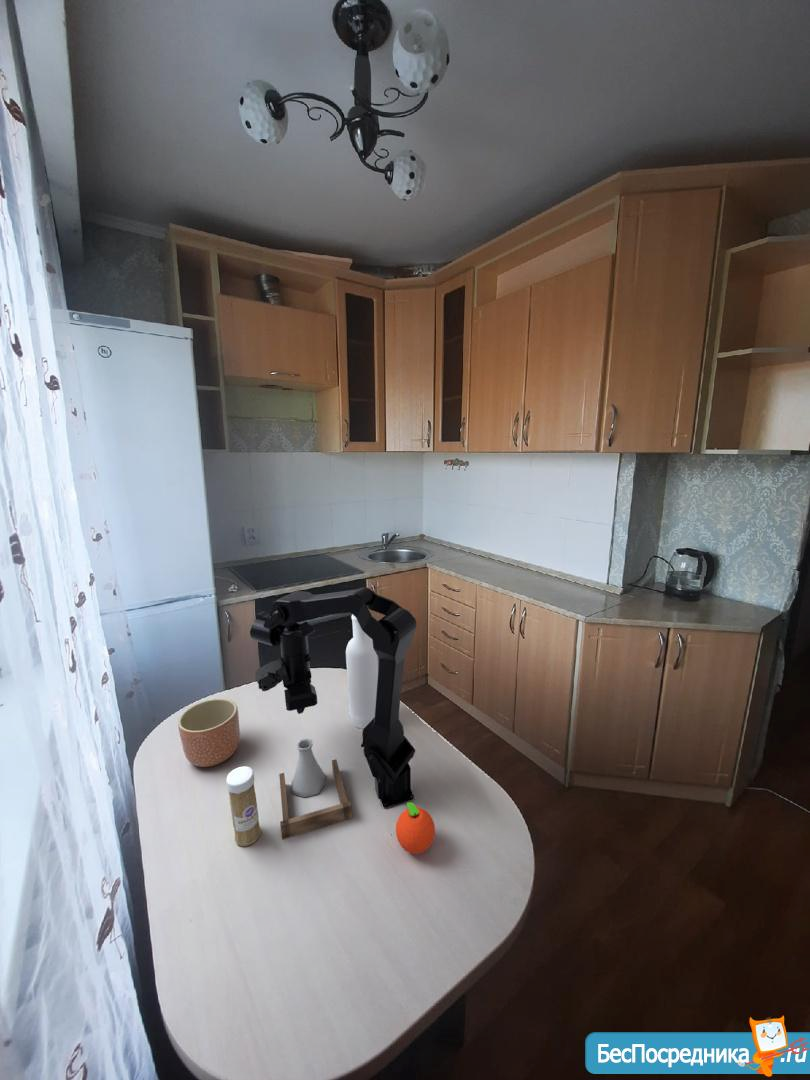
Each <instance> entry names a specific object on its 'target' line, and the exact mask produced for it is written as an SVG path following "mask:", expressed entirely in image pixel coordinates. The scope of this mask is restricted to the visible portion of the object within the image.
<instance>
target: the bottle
mask: <svg viewBox="0 0 810 1080" xmlns="http://www.w3.org/2000/svg"><path fill="white" fill-rule="evenodd" d="M350 618H351V621H352V622H351V623H352V637H351V639H350V640H348V643H347V645H346V649H345V662H346V674H347V675H346V676H347V677H346V678H347V692H348V704H349V705H348V706H349V707H348V708H349V709H348V713H349V720H350V724H351V725H352V726H353V727H355V728H357V729H361V730H363V729H364V728H365V727H366V726H367V725H368V724H369V723H370V722H371V720H372V719H373V718H374V717H375V705H376V692H377V679H378V666H379V657H378V656H377V654H376V652H375V650H374V648H373V641H372V638H370V637H369V636H368V635H367V634H366V633H364V632H363V630H362V629H361V626H360V624H359V622H358V620H357V618H356V617H355V616H354V615H353V614H351V616H350Z"/></svg>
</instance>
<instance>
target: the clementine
mask: <svg viewBox="0 0 810 1080" xmlns="http://www.w3.org/2000/svg"><path fill="white" fill-rule="evenodd" d="M405 803H406V806H407V808H406V809H405V810H404V811H402V812H401V813H400V815H399V817H398V819H397V821H396V824H395V825H396V826H395V835H396V839H397V842H398V843H399V845H400V846H401V848H402V849H403V850H404V851H405V852H407V853H409V854H414V855H418V854H422V853H424V852H426V851H427V850H428V849H429V848H430V847H431V846H432V843H433V842H434V841H435V840H434V839H435V835H436V828H435V823H434V822H435V821H434V819H433V817H432V816H431V815H430V813H429V812H428V811H427V810H426V809H424V808H423V807H420V806H416V805H415V804H414V803H413V802H410V801H407V802H405Z"/></svg>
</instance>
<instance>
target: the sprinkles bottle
mask: <svg viewBox="0 0 810 1080" xmlns="http://www.w3.org/2000/svg"><path fill="white" fill-rule="evenodd" d="M225 782H226V789H227V791H228V795H229V807H230V814H231V820H232V827H233V831H234V842H235V844H236V845H238V846H241V847H247V846H250V845H252V844H254V843H255V842H256V841H257V840H258V839H259V837H260V835H261V831H262V830H261V827H260V822H259V810H258V803H257V794H256V790H255V774H254V769H252V767H250V766H246V765H245V766H239V767H237V768H234V769H233V770H231V771H230V772H229V773H228V774H227V777H226V779H225Z"/></svg>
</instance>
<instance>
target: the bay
mask: <svg viewBox="0 0 810 1080" xmlns="http://www.w3.org/2000/svg"><path fill="white" fill-rule="evenodd" d="M331 766H332V767H331V769H332V774H333V778H334V782H335V788H336V791H337V796H338V800H339V804H335V805H332V806H328V807H325V808H322V809H319V810H316V811H312V812H308V813H305V814H304V813H303V814H302V815H298V816H295V817H291V818H290V817H289V807H288V799H287V798H288V797H287V796H288V795H287V786H286V785H287V784H286V777H285V772H282V773H279V774H278V777H279V787H280V789H279V790H280V800H281V814H282V820H281V821H280V822H279V823H280V825H279V827H280V833H281V840H285V839H288V838H292V837H294V836H298V835H301V834H305V833H308V832H312V831H314V830H318V829H321V828H323V827H328V826H330V825H331V826H332V825H334V824H338V823H340V822H344V821H347V820H350V819H352V818H353V814H352V813H353V812H352V810H353V809H352V804H351V801H350V800H349V801H348V799H347V794H346V791H345V787H344V783H343V778H342V775H341V771H340V767H339V764H338V760H337V758H335V759H332V760H331Z"/></svg>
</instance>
